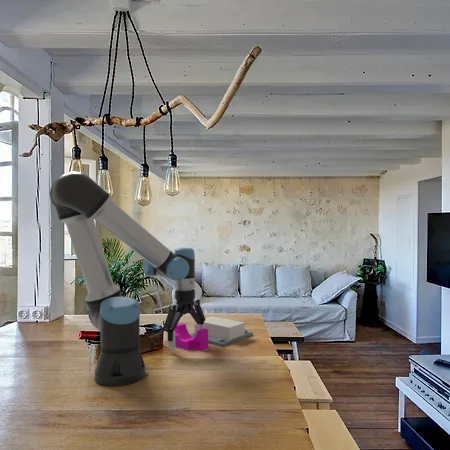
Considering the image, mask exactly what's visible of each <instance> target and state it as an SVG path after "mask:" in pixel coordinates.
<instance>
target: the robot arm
mask: <svg viewBox="0 0 450 450" xmlns="http://www.w3.org/2000/svg"><path fill="white" fill-rule="evenodd" d="M49 199H50V202H51V203H52V205H53V206H54V207H55V211H56V214H57V217H58V219H59V221H60V223H63V224H65V226H66V229H67V232H68V234H69V237H70V240H71V243H72V247H73V249H74V253H75V256H76V259H77V263H78V265H79V268H80V271H81V275H82V279H83V281H84V284H85V286H86V290H87V295H86V296H85V298H84V301H85V303H86V306H87V310H88V312H87V313H88V314H87V315H88V319H89V321H90V323H91V324H92V325H93V327H94V328H96V329H97V330H98V331H99V332H100V352H99V353H100V354H99V357H98V360H97V363H96V367H95V370H94V381H95V383H97V384H99V385H102V386H108V387H109V386H114V387H115V386H124V385H129V384H133V383H135V382H136V383H137V382H138V381H140V380H141V379H143V378H144V377H145V375H146V364H145V361H144V358H143V355H142V352H141V349H140V343H141V341H140V340H141V339H140V333H141V332H140V331H141V330H140V328H141V327H140V326H141V325H140V315H141V311H140V304H139V301H138V300H136V299H135V298H132V297H127V296H123V294H122V291H121V288H120V286H118V285H116V284H115V283H114V281H113V278H112V274H111V271H110V267H109V265H108V260H107V258H106V256H105V251H104V248H103V245H102V242H101V239H100V236H99V233H98V229H97V226H96V222H97V223H98V224H99V225H101V227H103V228H105V229H106V230H107V231H108V232H110V233H111V234H112V235H114V236H115V237H116V238H117V239H118V240H120V241H121V242H122V243H123V244H124V245H126V246H127V247H128V248H130V249H131V250H132V251H134V252H135V253H136V254H137V255H139V256H140V257H141V258H142V259H143V260H142V269H143V274H145V276H148V277H156V276H157V277H162V278H166V279H169V280H172V281H174V288H175V290H174V298H175V300H176V302H175V304H173V303H170V304H169V306H168V314H167V316H166V318H165V322H164V325H163V327H162V331H163V332H166V333H167V342H168V350H170V351H173V352H175V351H176V346H175V332H174V329H175V328H176V326H177V324H178V323H180V322H179V321H180V320H181V318H182V317H183V316H185V315H187V314H189V316H191V317H192V319H193V320H194V322H195V323H194V332H195V337H196V334H197V330H200V329H202V324H204V321H205V320H206V319H205V318H206V317H205V314H204V311H203V309H202V306H201V300H200V299H198V298H196V290H195V287H196V284H195V283H196V282H195V281H196V280H195V279H196V278H195V277H196V275H195V273H196V271H195V270H196V269H195V268H196V265H195V264H196V256H195V255H196V253H195V250H194V249H193V248H189V247H181V248H179V247H178V248H175V249H174V252H173V251H171V250H170V249H169V248H168V247H167V246H166V245H164V244H163V243H162V242H161V241H160V240H159V239H157V238H156V237H155V236H154V235H152V233H150V232H149V231H148V230H147V229H146V228H144V227H143V226H142V225H141V224H140V223H138V222H137V221H136V219H134V218H133V217H131V216H130V215H129V214H128V213H127V212H126V211H124V210H123V209H122V208H120V206H118V205H117V204H116V203H115V202H114V201H112V199H111V195H110V194H109V193H108V192H107V191H106V190H104V188H102V187H101V185H99V184H98V183H97V182H96V181H95V180H93V178H91V177H90V176H88V175H87V174H86V173H83V172H79V171H69V172H68V171H67V172H66V173H64V174H62V175H60V176H59V177H58V178H57V179H55V181H54V182H53V183H52V184H51V187H50V190H49ZM95 221H96V222H95Z"/></svg>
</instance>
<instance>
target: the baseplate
mask: <svg viewBox="0 0 450 450" xmlns="http://www.w3.org/2000/svg"><path fill="white" fill-rule="evenodd" d="M205 319H206V320H205V321H204V324H202V329H203V328H206V329H208V345H209V344H210V345H214V346H217V347H222V348H223V347H226V346H229V345H231V344H233V343H236V342H238V341H241V340H243V339H246V338H249V337H251V336H253V335H254V333H253V331H248V330H247V329H245V328H246V326H245V325H246V323H245V321H238V320H232V319H227V318H224V317H223V318H222V317H219V316H218V317H217V316H209V317H205ZM189 334H190V335H191V336H192V337H194V338H195V331H193V332H192V333H189Z"/></svg>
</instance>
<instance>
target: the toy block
mask: <svg viewBox="0 0 450 450" xmlns="http://www.w3.org/2000/svg"><path fill="white" fill-rule="evenodd" d="M173 332H175V348H179V349H183V350H186V351H189V350H192V349H193V350H196V351H201V352H202V351H206V350H208V349H209V343H208V329H206V328H203V329H200V330H197V334H196V337H195V338H194V337H192V336H191V335H190V334H191V333H189V331H188V327H187V323H184V322H178V324H177V326H176V328H175V329H174V331H173Z"/></svg>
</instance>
